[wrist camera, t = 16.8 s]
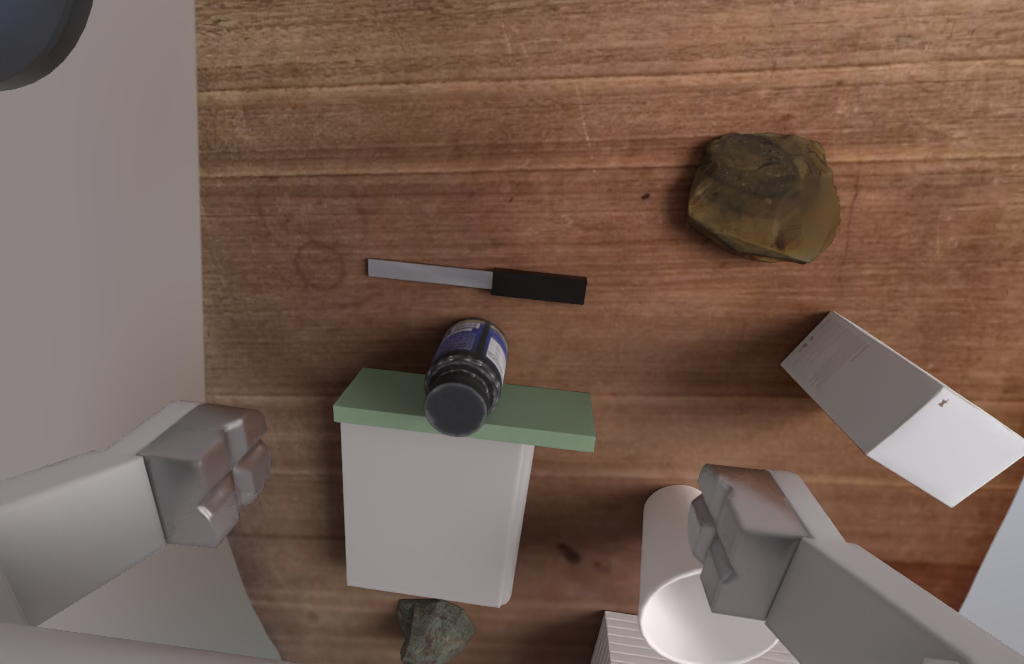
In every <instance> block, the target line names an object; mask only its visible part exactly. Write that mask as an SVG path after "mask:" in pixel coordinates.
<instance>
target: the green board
mask: <svg viewBox="0 0 1024 664" xmlns="http://www.w3.org/2000/svg"><path fill="white" fill-rule="evenodd" d="M425 376H426V375H425V374H416V373H408V372H399V371H390V370H381V369H373V368H364V367H363V368H362V369H361V371H360V372H359V373H358V374H357V376H356V377H355V378H354V380H353V381H352V382H351V383H350V385H349V386H348V387H347V389H346V390H345V391H344V392H343V394H342V395H341V396H340V397H339V399H338V400H337V401H336V403H335V404H334V405H333V414H334V422H341V423H349V424H358V425H366V426H375V427H383V428H391V429H400V430H408V431H416V432H425V433H433V434H442V433H440V432H439V431H437V430H436V429H434V428H433V427H432V426H431V425H430V423H429V422H428V420H427V419H426V416H425V413H424V401H425V398H426V395H425V391H424V380H425ZM442 435H444V434H442ZM464 437H467V438H475V439H484V440H492V441H500V442H509V443H517V444H526V445H534V446H542V447H551V448H559V449H567V450H576V451H584V452H593V450H594V445H595V439H596V434H595V427H594V419H593V412H592V405H591V397H590V393H582V392H573V391H565V390H556V389H547V388H538V387H530V386H521V385H512V384H504V383H503V385H502V391H501V397H500V400H499V402H498V404H497V406H496V408H495V409H494V410H493V411H492V412H491V413H490V414H489V415H487V419H486V421H485V423H484V425H483V426H482V427H481V428H480V429H479V430H478V431H477V432H475V433H474V434H471V435H469V436H464Z"/></svg>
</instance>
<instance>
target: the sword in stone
mask: <svg viewBox="0 0 1024 664" xmlns="http://www.w3.org/2000/svg"><path fill="white" fill-rule="evenodd" d="M396 617H397V619H398V621H399V624H400V626H401V628H402V630H403V632H404V635H405V638H406V639H405V641H404V644H403V646H402V649H401V651H400V654H401V661H402V662H403V664H444V663H446V662H448V661H449V660H451V659H453V658H454V657H456V656H457V655H458V654H459V653H460V652H461V651H463V650H464V649H465V647H466V645H467V644H468V642H469V640H470V638H471V637H472V635H473V633H474V631H475V628H474V627H473V625H472V623H471V622H470V620H469V618H468V617H467V615H466V613H465V612H464V610H463V609H461V608H459V607H457V606H454V605H452V604H450V603H448V602H446V601H444V600H438V599H413V600H400V601H399V605H398V610H397V615H396Z"/></svg>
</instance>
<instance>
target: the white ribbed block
mask: <svg viewBox="0 0 1024 664" xmlns="http://www.w3.org/2000/svg"><path fill="white" fill-rule="evenodd" d="M590 664H679V663H676V662H673V661H671V660H669V659H667V658H665V657H663V656H661V655H659V654H658V653H657V652H656V651H655V650H653V649H652V648H651V647H650V646H649V645H648V644H647V643H646V641H645V639H644V638H643V636H642V635H641V633H640V629H639V624H638V616H637V615H630V614H624V613H617V612H610V611H605V613H604V617H603V620H602V624H601V627H600V631H599V634H598V638H597V641H596V645H595V648H594V652H593V656H592V659H591V663H590ZM742 664H800V663H799V662H798V661H797V660H796V659H795V657H794V656H793V655H792V654H791V653H790V652H789V651H788V650H787V648H786V647H785V646H784V645H783V644H782V643H781V642H780V641H779V640H778V642H777V643H776V644H775V645H774V646H773V647H772V648H771V649H769V650H768V651H766V652H765V653H764V654H762V655H761V656H759V657H757V658H754V659H752V660H750V661H748V662H745V663H742Z"/></svg>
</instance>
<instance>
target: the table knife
mask: <svg viewBox="0 0 1024 664" xmlns="http://www.w3.org/2000/svg"><path fill="white" fill-rule="evenodd" d="M368 276H371V277H381V278H390V279H399V280H409V281H418V282H427V283H437V284H446V285H455V286H465V287H474V288H483V289H492V290H491V295H497V296H506V297H515V298H525V299H534V300H543V301H553V302H562V303H571V304H580V305H583V304H584V299H585V292H586V286H587V278H586V277H579V276H569V275H560V274H550V273H541V272H531V271H522V270H512V269H503V268H494V270H493V271H490V270H481V269H471V268H462V267H453V266H443V265H434V264H424V263H415V262H405V261H396V260H386V259H377V258H368Z"/></svg>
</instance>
